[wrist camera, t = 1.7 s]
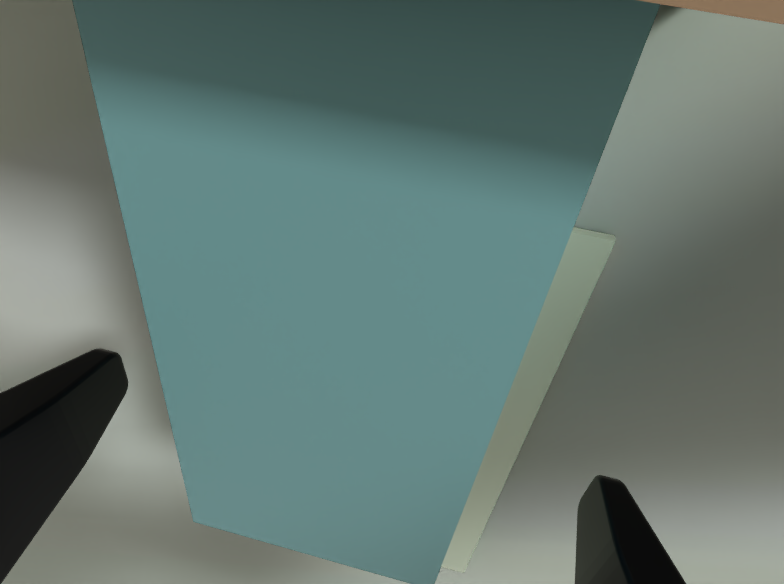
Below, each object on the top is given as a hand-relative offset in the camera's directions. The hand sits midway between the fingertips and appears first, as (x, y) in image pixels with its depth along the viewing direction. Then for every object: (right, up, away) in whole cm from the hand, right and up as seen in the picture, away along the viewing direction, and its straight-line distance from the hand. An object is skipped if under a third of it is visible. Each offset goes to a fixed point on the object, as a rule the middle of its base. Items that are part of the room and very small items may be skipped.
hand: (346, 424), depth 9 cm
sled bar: (+1, +6, -1) cm, 6 cm away
